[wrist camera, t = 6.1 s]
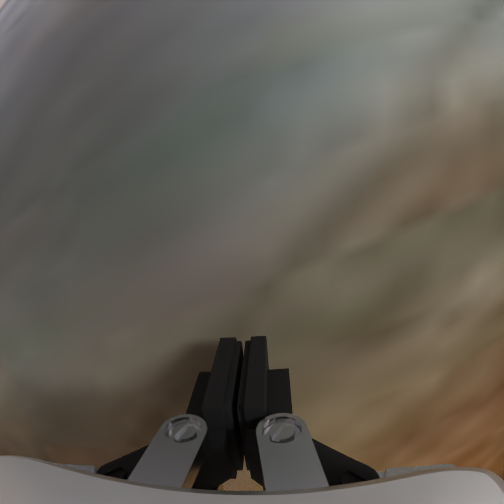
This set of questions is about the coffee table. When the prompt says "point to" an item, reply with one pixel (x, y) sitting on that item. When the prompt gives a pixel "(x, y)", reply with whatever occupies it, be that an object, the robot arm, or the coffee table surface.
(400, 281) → the coffee table surface
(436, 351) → the coffee table surface
